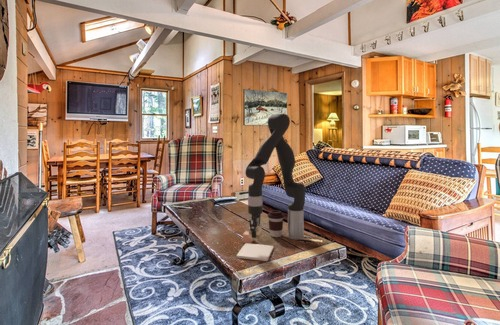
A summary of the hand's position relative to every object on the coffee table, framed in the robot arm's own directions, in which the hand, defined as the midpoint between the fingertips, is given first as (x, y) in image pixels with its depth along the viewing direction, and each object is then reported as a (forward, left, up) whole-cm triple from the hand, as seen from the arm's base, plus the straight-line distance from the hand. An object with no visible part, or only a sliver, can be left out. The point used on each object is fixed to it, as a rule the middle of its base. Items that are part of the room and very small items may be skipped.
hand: (255, 235), depth 143 cm
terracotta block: (+8, -14, -10) cm, 19 cm away
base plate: (0, 0, -9) cm, 9 cm away
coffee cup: (-6, -27, -10) cm, 29 cm away
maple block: (0, 0, -1) cm, 1 cm away
